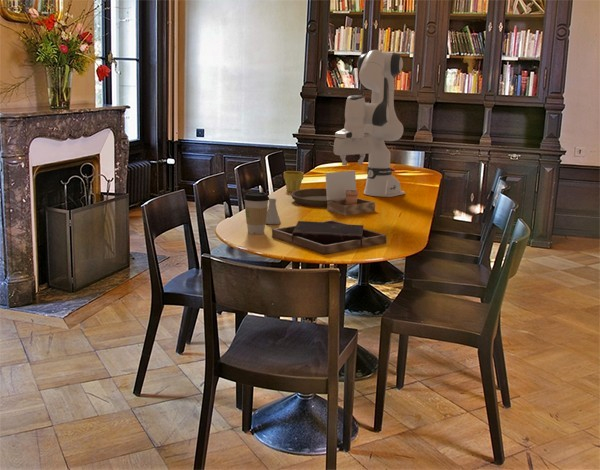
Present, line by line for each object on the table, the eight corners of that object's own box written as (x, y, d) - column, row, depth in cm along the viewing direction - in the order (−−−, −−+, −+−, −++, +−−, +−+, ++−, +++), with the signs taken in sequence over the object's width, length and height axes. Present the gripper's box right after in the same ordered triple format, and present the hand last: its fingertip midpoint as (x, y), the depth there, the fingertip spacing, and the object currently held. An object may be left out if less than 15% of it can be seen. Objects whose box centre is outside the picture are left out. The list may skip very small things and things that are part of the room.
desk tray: (332, 227, 268) (332, 220, 267) (386, 243, 245) (386, 235, 245) (272, 236, 250) (272, 229, 249) (324, 254, 227) (324, 246, 226)
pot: (351, 209, 303) (352, 189, 301) (360, 211, 299) (361, 191, 297) (341, 210, 300) (342, 190, 298) (350, 212, 296) (351, 192, 293)
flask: (262, 221, 276) (263, 197, 273) (280, 221, 276) (280, 197, 274) (263, 225, 269) (263, 200, 266) (281, 225, 269) (281, 200, 267)
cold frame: (352, 206, 312) (353, 182, 309) (374, 212, 301) (376, 186, 298) (323, 210, 301) (324, 185, 298) (345, 216, 290) (346, 190, 287)
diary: (361, 249, 237) (362, 235, 236) (291, 245, 240) (292, 232, 239) (363, 236, 255) (363, 223, 254) (298, 232, 258) (298, 220, 257)
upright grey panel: (356, 196, 308) (355, 196, 309) (355, 170, 307) (354, 170, 307) (327, 200, 297) (326, 200, 298) (326, 173, 296) (325, 173, 296)
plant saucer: (309, 211, 300) (309, 201, 299) (279, 199, 326) (279, 189, 325) (367, 206, 314) (368, 197, 313) (334, 195, 341) (334, 186, 339)
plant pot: (300, 193, 343) (301, 174, 340) (281, 191, 345) (281, 173, 342) (304, 189, 352) (305, 171, 350) (285, 188, 354) (286, 170, 352)
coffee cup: (253, 228, 262) (254, 190, 259) (273, 232, 257) (274, 193, 254) (237, 232, 255) (238, 193, 251) (258, 236, 249) (258, 197, 246)
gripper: (366, 131, 300) (364, 162, 303) (331, 133, 288) (330, 165, 291) (376, 133, 295) (374, 164, 299) (341, 134, 283) (340, 166, 286)
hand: (352, 164), depth 295 cm, fingers open, 8 cm apart
